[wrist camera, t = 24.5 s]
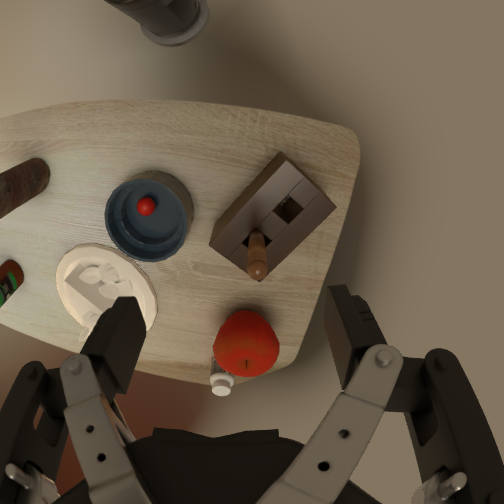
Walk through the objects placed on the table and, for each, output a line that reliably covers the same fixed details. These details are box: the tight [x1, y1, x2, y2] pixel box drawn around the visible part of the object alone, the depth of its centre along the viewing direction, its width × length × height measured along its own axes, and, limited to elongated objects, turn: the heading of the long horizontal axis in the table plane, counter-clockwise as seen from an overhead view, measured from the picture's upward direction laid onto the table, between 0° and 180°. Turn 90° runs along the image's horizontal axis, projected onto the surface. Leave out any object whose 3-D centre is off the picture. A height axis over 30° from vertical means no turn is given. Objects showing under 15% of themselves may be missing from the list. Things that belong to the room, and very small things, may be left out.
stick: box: [247, 228, 268, 280], centre depth 41 cm, size 2×2×22 cm
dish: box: [56, 244, 158, 343], centre depth 53 cm, size 25×25×11 cm
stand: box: [209, 152, 337, 282], centre depth 46 cm, size 10×17×8 cm, turn 139°
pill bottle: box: [210, 355, 234, 396], centre depth 63 cm, size 5×5×10 cm
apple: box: [213, 310, 279, 377], centre depth 55 cm, size 12×12×14 cm
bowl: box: [105, 171, 193, 262], centre depth 47 cm, size 14×14×6 cm
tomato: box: [137, 197, 155, 216], centre depth 47 cm, size 3×3×3 cm
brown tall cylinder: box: [0, 158, 50, 219], centre depth 36 cm, size 8×7×20 cm
